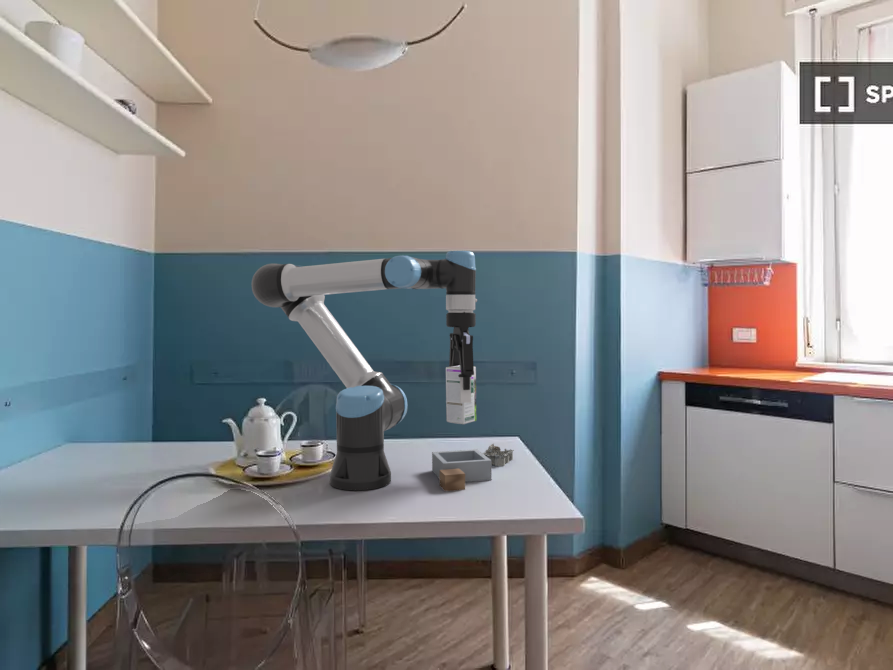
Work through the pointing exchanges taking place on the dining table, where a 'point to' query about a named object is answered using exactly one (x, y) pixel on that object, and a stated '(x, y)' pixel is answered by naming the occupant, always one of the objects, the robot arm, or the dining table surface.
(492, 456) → the egg carton
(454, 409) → the syrup box
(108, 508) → the dining table surface
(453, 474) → the walnut stub
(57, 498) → the dining table surface
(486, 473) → the socket
